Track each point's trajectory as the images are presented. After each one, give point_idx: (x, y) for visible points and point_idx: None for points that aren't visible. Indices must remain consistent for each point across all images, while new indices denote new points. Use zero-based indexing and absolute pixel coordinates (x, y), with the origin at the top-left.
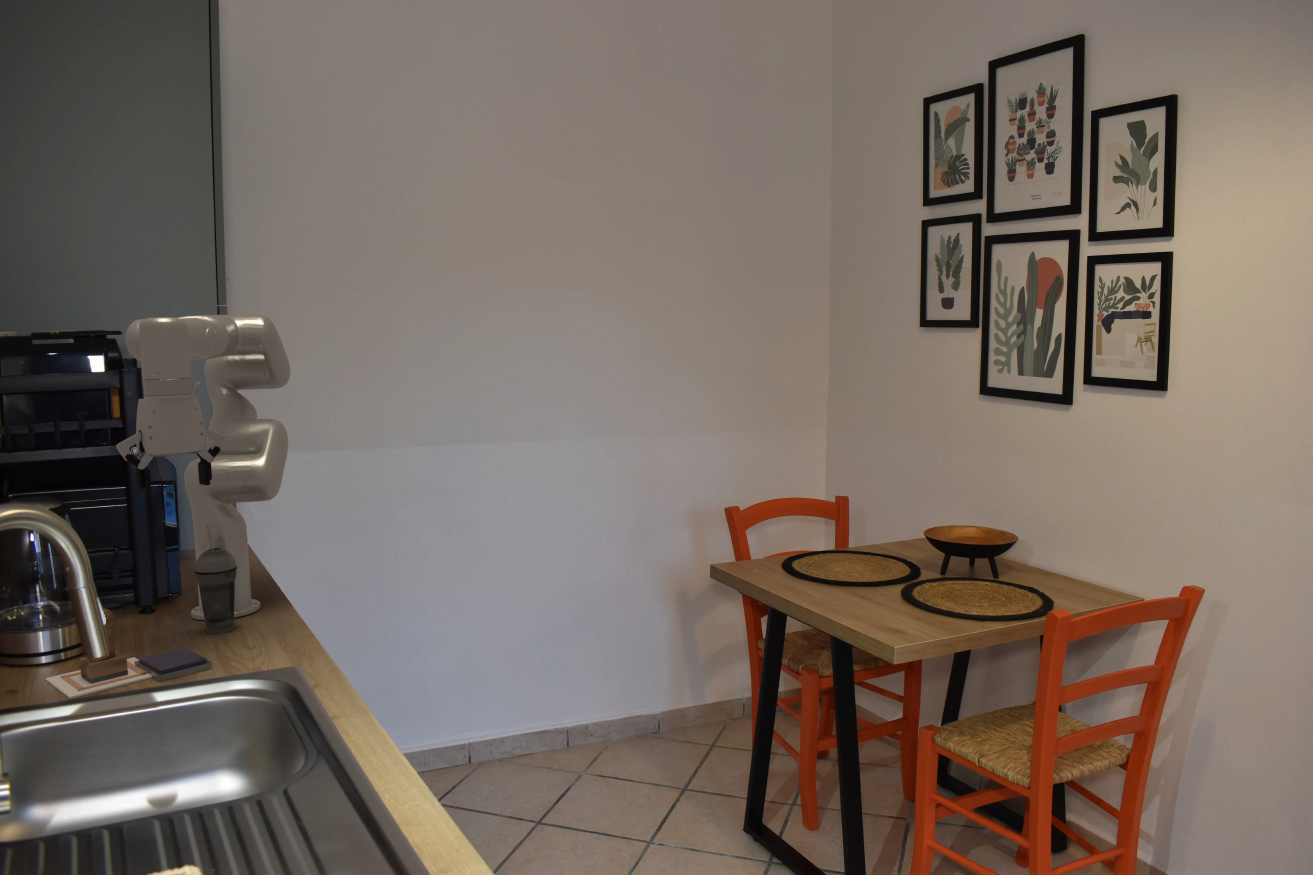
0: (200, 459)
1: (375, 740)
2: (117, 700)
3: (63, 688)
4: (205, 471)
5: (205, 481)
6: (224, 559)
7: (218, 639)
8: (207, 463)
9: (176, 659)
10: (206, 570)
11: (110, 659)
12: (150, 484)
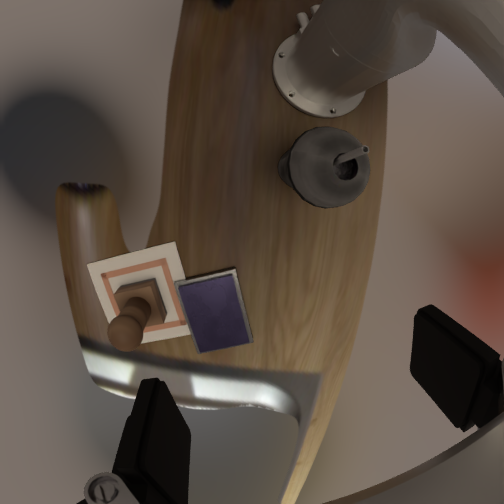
0: (491, 397)
1: (300, 485)
2: (161, 375)
3: (109, 316)
4: (441, 406)
5: (416, 380)
6: (348, 201)
7: (284, 217)
8: (469, 426)
9: (218, 324)
10: (307, 199)
11: (147, 323)
12: (188, 454)
